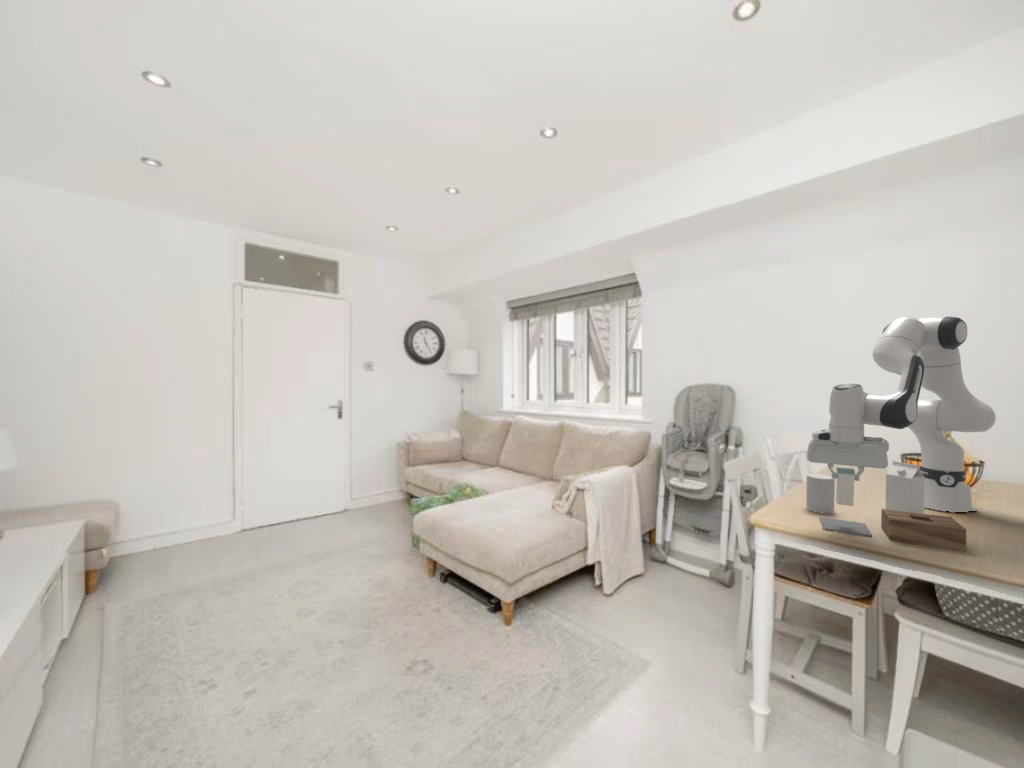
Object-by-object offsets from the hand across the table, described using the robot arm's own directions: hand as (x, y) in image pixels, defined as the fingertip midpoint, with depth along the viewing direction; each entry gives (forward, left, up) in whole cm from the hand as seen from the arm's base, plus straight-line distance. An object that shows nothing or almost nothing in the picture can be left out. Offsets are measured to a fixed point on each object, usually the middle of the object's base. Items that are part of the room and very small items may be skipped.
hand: (845, 479), depth 138 cm
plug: (0, 0, -8) cm, 8 cm away
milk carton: (-19, +18, -16) cm, 30 cm away
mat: (0, 0, -15) cm, 15 cm away
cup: (-18, -5, -16) cm, 24 cm away
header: (0, +18, -15) cm, 24 cm away
